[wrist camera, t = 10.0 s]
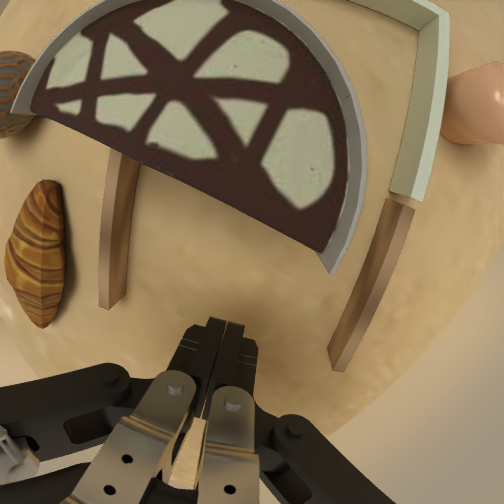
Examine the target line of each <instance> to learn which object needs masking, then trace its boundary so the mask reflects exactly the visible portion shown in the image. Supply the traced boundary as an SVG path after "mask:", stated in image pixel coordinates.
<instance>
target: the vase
mask: <svg viewBox="0 0 504 504" xmlns="http://www.w3.org/2000/svg"><path fill="white" fill-rule="evenodd" d="M35 61H36V60H35V59H34V58H32V57H31V56H29V55H27V54H25V53H22V52H18V51H3V52H0V139H1V138H6V137H8V136H11V135H13V134H15V133H17V132H19V131H20V130H22V129H23V128H25V127H26V126H27V125H28V124H29V123H30V122H31V121H32V119H33V118H34V117H35V115H29V114H16V113H10V112H11V109H12V106H13V104H14V101H15V99H16V96H17V94H18V91H19V89H20V87H21V85H22V83H23V81H24V79H25V78H26V76H27V74H28V72H29V70H30V69H31V67H32V65H33V64H34V63H35Z"/></svg>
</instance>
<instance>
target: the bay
mask: <svg viewBox="0 0 504 504" xmlns="http://www.w3.org/2000/svg"><path fill="white" fill-rule="evenodd" d="M348 1H351V2H354V3H357V4H360V5H362V6H365V7H368V8H370V9H373V10H375V11H378V12H380V13H383V14H385V15H387V16H390V17H392V18H394V19H396V20H398V21H400V22H403V23H405V24H407V25H409V26H411V27H413V28H415V29H416V30H418V31H419V37H418V48H417V57H416V65H415V72H414V79H413V86H412V92H411V98H410V103H409V109H408V114H407V119H406V124H405V128H404V133H403V137H402V142H401V146H400V150H399V154H398V158H397V162H396V166H395V170H394V173H393V177H392V181H391V184H390V188H389V191H391V192H394V193H396V194H399V195H402V196H405V197H408V198H411V199H414V200H417V201H420V202H423V199H424V195H425V192H426V188H427V185H428V181H429V177H430V173H431V169H432V165H433V161H434V157H435V152H436V148H437V143H438V138H439V133H440V127H441V122H442V116H443V109H444V102H445V95H446V87H447V77H448V65H449V46H450V13H448V12H446V11H445V10H443V9H442V8H440V7H438V6H436V5H435V4H433V3H431V2H430V1H428V0H348Z"/></svg>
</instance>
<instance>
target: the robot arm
mask: <svg viewBox="0 0 504 504" xmlns="http://www.w3.org/2000/svg"><path fill="white" fill-rule="evenodd" d="M226 322H227V321H225V320H222V319H218V318H214V317H211V316H210V317H209V320H208V322H207V325H206V327H203V326H199V325H196V324H194V325H193V326H191V327H190V328H188V329H187V330H186V332H185V334H184V336H183V338H182V340H181V342H180V344H179V346H178V348H177V350H176V352H175V354H174V356H173V358H172V360H171V362H170V364H169V366H168V368H167V370H166V371H164V372H161V373H160V374H158V375H157V376H156V378H152V379H139V378H130V376H129V373H128V372H127V371H126V370H125V369H124V368H123V367H121V366H120V365H117V364H114V363H103V364H99V365H95V366H91V367H88V368H84V369H80V370H76V371H72V372H68V373H64V374H60V375H56V376H52V377H47V378H43V379H39V380H34V381H30V382H25V383H20V384H15V385H10V386H5V387H0V504H259V478H260V479H261V480H262V481H263V483H264V484H265V485H266V486H267V488H268V489H269V490H270V491H271V493H272V494H273V495H274V496H275V497H276V498H277V500H278V501H279V502H280V503H281V504H396V503H394V502H393V501H392V500H391V499H390V498H389V497H388V496H386V495H385V494H384V493H383V492H382V491H381V490H380V489H378V488H377V487H376V486H375V485H374V484H373V483H372V482H371V481H370V480H369V479H367V478H366V477H365V476H364V475H363V474H362V473H361V472H360V471H359V470H358V469H357V468H356V467H355V466H354V465H352V464H351V463H350V462H349V461H348V460H347V459H346V458H345V457H344V456H343V455H342V454H341V453H340V452H339V451H338V450H337V449H336V448H335V447H334V446H333V445H332V444H331V443H330V442H329V441H328V440H327V439H326V438H325V437H324V436H323V435H322V434H321V433H320V432H319V430H318V429H317V428H316V427H315V426H314V425H313V424H312V423H311V422H310V421H309V420H307V419H306V418H304V417H302V416H299V415H295V414H288V415H284V416H282V417H280V418H277V417H275V416H273V415H271V414H269V413H267V412H265V411H263V410H262V409H261V408H260V407H259V406H258V405H257V404H256V402H255V400H254V397H253V390H254V382H255V374H256V365H257V356H258V347H257V345H256V343H255V340H252V339H248V338H244V337H243V333H244V328H245V325H241V324H237V323H233V322H229V321H228V324H227V327H226ZM225 327H226V330H225ZM224 331H225V334H224ZM223 335H224V337H223ZM222 339H223V340H222ZM221 343H222V344H221ZM206 396H207V398H206ZM205 399H206V402H205ZM204 403H205V406H204ZM203 406H204V411H203V415H202V419H204V420H206V424H205V428H204V432H203V436H202V441H201V447H200V453H199V459H198V465H197V472H196V477H195V483H194V488H193V490H187V489H177V488H174V487H172V486H170V485H168V482H169V479H170V476H171V473H172V470H173V467H174V465H175V463H176V460H177V458H178V456H179V453H180V451H181V449H182V446H183V444H184V442H185V439H186V437H187V435H188V432H189V429H190V428H191V425H192V422H193V419H194V417H197V418H200V416H201V413H202V410H203ZM103 443H104V444H103ZM100 444H103V446H102V447H101V449H100V450H99V452H98V453H97V455H96V456H95V458H94V460H93V461H92V462H88V463H80V464H76V465H73V466H70V467H67V468H64V469H61V470H57V471H55V472H51V473H48V474H44V475H41V476H37V477H33V478H29V477H32V476H34V475H36V473H37V471H38V469H39V462H42V461H46V460H50V459H54V458H58V457H61V456H65V455H69V454H72V453H75V452H79V451H82V450H85V449H88V448H91V447H94V446H97V445H100ZM27 478H29V479H27Z"/></svg>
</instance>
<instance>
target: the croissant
mask: <svg viewBox="0 0 504 504" xmlns="http://www.w3.org/2000/svg"><path fill="white" fill-rule="evenodd" d="M64 231H65V226H64V215H63V203H62V197H61V190H60V185H59V184H58V183H57V182H56V181H52V180H42V181H40V182H38V183H37V184H36V186H35V187H34V188H33V190H32V191H31V192H30V194H29V195H28V197H27V198H26V199H25V202H24V204H23V206H22V208H21V210H20V212H19V215H18V217H17V219H16V222H15V225H14V228H13V232H12V234H11V236H10V238H9V240H8V242H7V244H6V250H5V259H4V265H5V270H6V275H7V280H8V281H9V283H10V284H11V286H12V287H13V289H14V291H15V293H16V296H17V298H18V300H19V302H20V304H21V306H22V308H23V310H24V311H25V313H26V314H27V315H28V317H29V318H30V319H31V321H32V322H33V323H34V324H35V325H36V326H37V327H39V328H42V329H43V328H46V327H48V325H49V324H50V322H51V321H52V319H53V318H54V316H55V315H56V313H57V310H58V306H59V302H60V300H61V295H62V290H63V284H64V277H65V270H66V267H65V248H64V241H63V237H64Z"/></svg>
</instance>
